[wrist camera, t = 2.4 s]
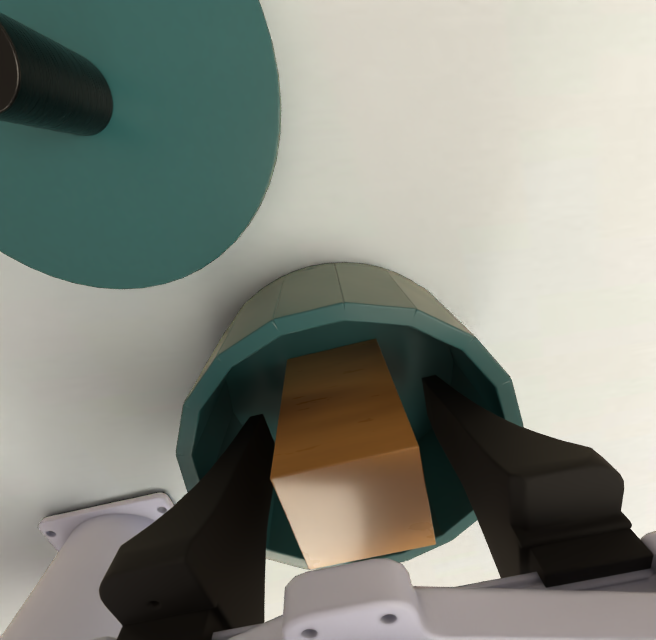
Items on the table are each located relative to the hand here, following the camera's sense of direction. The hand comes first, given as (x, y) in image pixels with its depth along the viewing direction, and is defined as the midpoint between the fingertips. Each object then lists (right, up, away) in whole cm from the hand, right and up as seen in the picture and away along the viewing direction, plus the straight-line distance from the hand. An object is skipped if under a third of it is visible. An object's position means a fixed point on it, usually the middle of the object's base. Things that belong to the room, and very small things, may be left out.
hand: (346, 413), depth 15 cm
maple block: (0, +1, +2) cm, 2 cm away
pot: (0, +1, +3) cm, 3 cm away
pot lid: (-9, +12, -3) cm, 15 cm away
